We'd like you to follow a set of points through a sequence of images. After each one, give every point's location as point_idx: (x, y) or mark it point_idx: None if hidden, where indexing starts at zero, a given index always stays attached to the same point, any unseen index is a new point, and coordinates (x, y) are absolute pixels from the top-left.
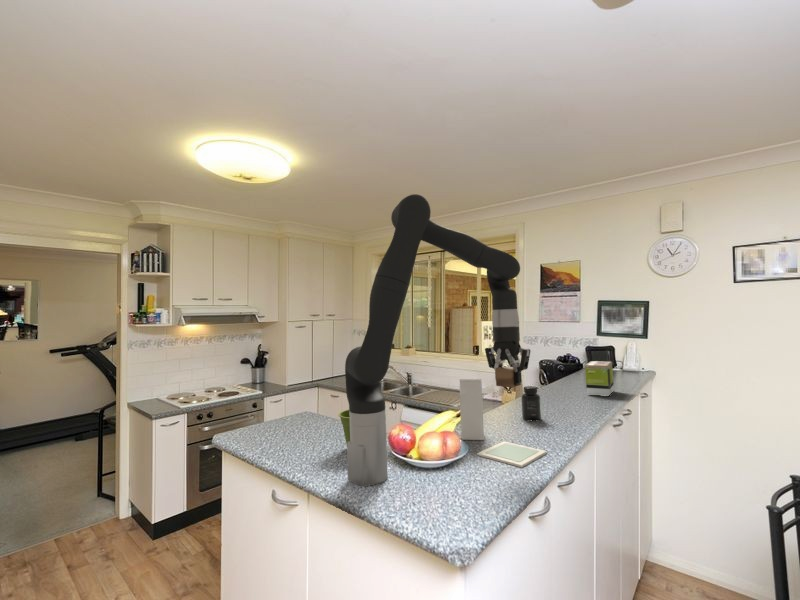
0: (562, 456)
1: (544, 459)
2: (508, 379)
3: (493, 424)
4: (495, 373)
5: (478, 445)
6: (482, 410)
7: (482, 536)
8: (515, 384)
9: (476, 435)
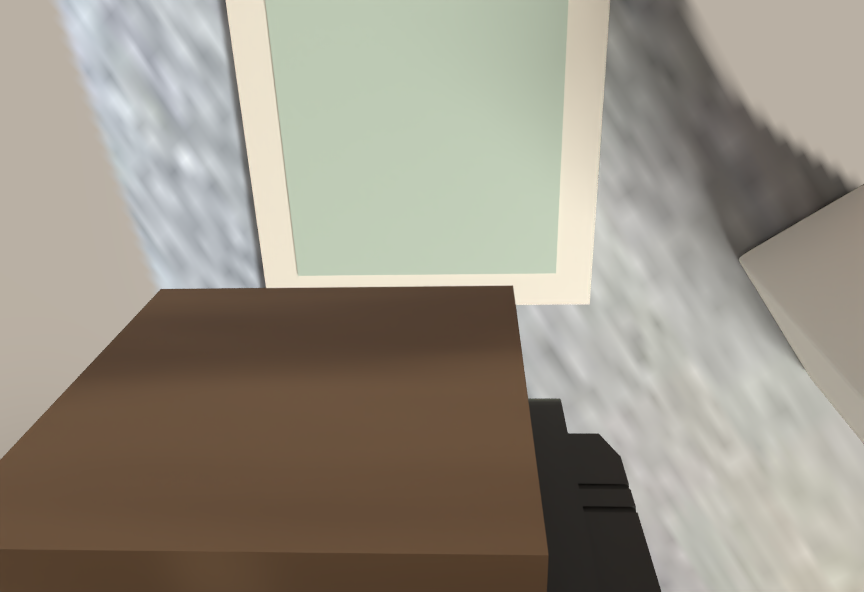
0: None
1: (218, 198)
2: (162, 364)
3: (842, 572)
4: (640, 554)
5: (719, 144)
6: (842, 375)
7: None
8: None
9: (802, 240)
